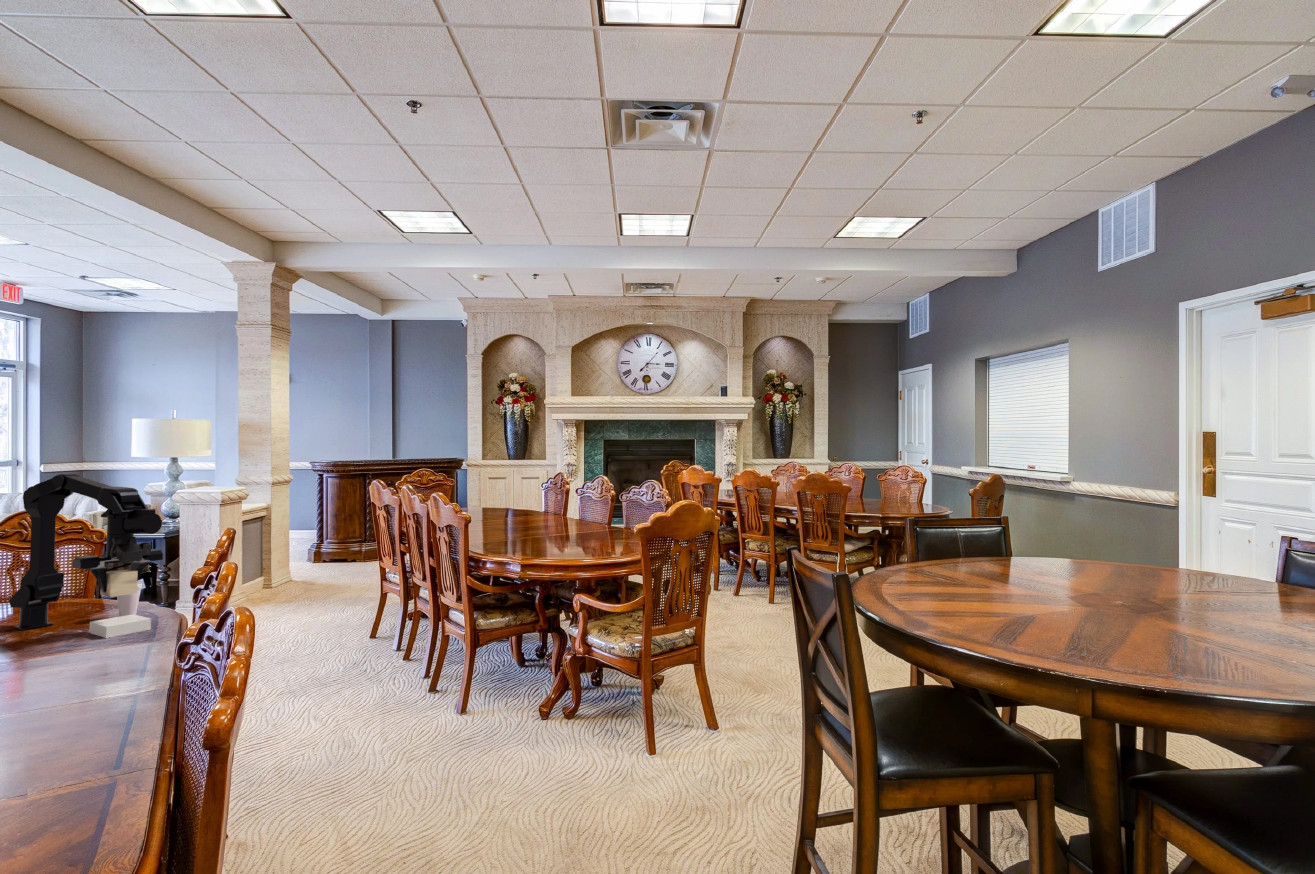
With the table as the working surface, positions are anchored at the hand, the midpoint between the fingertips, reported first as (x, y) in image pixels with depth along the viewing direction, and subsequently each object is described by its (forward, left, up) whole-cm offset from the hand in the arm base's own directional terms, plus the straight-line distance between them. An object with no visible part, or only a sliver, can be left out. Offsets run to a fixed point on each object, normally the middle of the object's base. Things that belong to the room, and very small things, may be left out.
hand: (118, 590), depth 175 cm
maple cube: (0, 0, -1) cm, 1 cm away
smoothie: (-16, +9, -12) cm, 21 cm away
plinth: (0, +1, -11) cm, 11 cm away
